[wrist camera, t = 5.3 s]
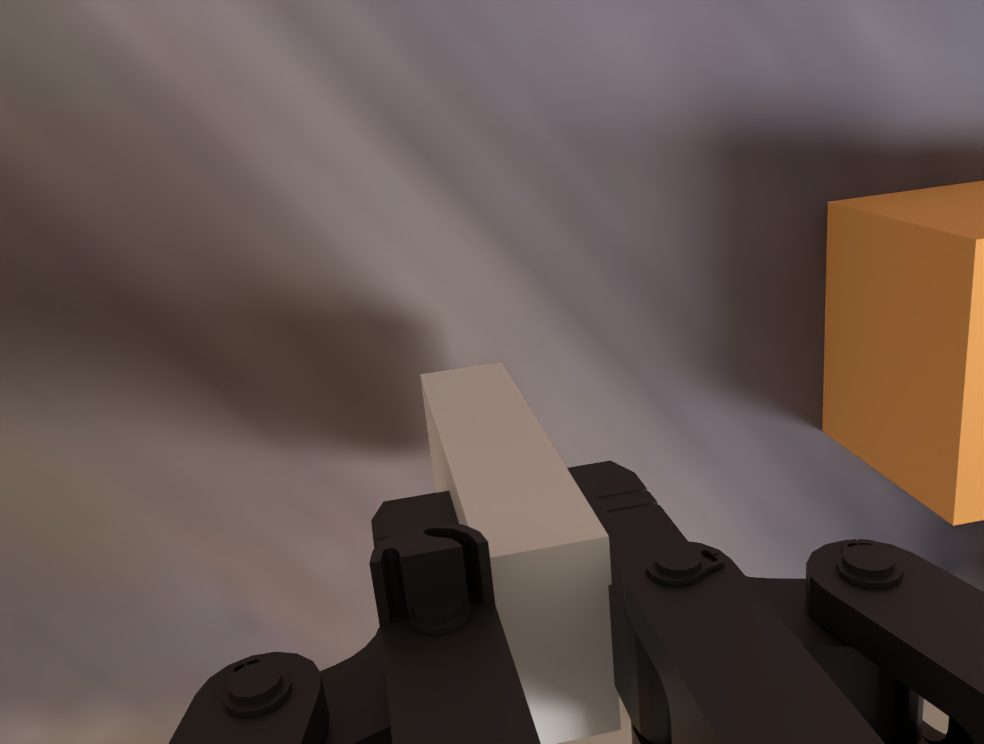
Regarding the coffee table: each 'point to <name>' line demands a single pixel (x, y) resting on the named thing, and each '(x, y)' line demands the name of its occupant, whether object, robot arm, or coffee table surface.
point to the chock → (910, 341)
